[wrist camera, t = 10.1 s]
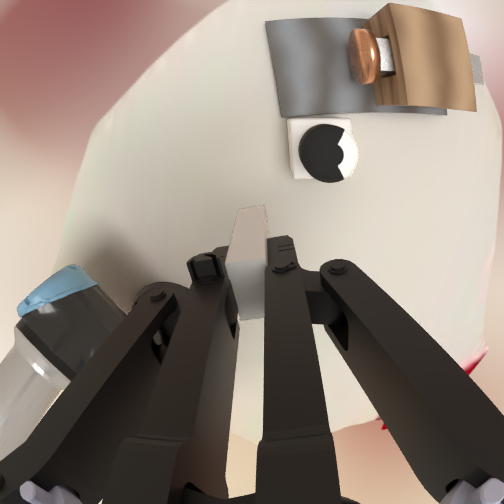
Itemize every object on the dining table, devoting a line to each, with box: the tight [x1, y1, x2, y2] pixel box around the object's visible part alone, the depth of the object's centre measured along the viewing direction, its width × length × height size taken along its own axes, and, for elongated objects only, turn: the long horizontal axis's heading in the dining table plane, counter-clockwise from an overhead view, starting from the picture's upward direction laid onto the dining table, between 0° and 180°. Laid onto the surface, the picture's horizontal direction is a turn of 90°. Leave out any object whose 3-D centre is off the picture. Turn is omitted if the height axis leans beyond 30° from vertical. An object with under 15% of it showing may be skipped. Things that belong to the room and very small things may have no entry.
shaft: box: [348, 29, 484, 85], centre depth 24 cm, size 18×7×7 cm, turn 99°
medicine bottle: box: [287, 117, 359, 183], centre depth 32 cm, size 7×7×12 cm
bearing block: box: [265, 3, 477, 117], centre depth 26 cm, size 25×14×12 cm, turn 99°
